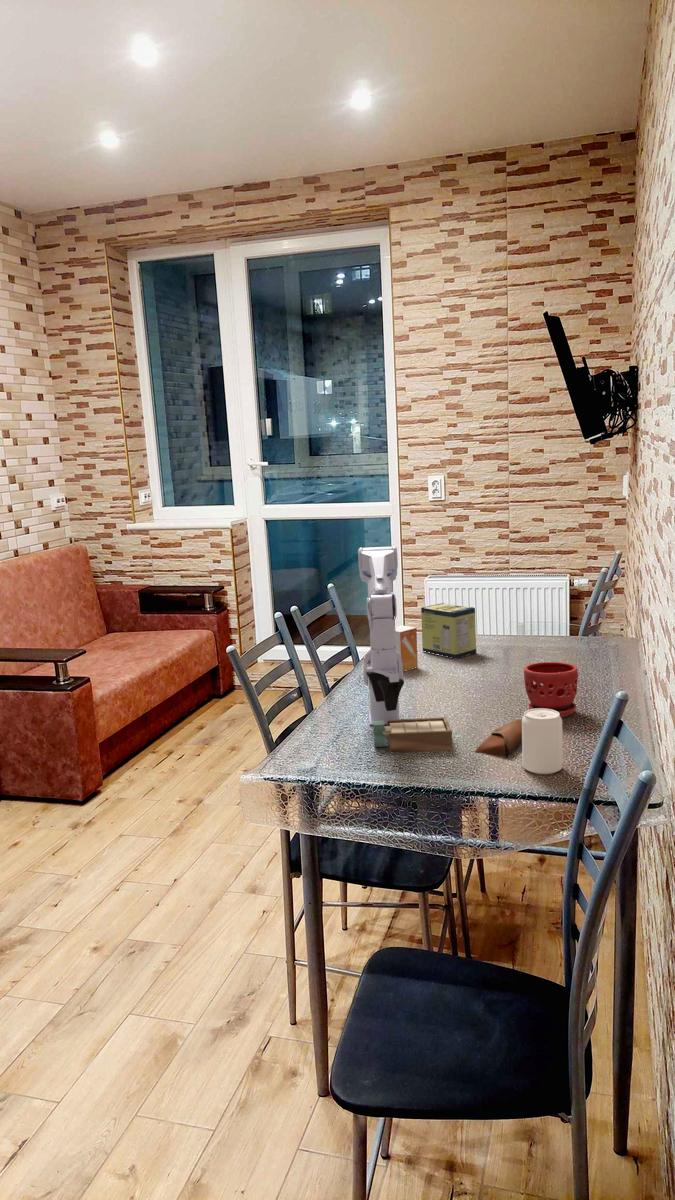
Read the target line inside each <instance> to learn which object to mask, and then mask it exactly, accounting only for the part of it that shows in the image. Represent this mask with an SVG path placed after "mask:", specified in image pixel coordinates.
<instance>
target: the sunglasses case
mask: <svg viewBox="0 0 675 1200" xmlns="http://www.w3.org/2000/svg"><path fill="white" fill-rule="evenodd" d="M520 744H522V718H520V719H516V720H513V721H510V722H509V723H505V724H504V725H502V726H500V727H498V728H496V729H493V731H491V734H490V735H489V736H488V737H487V738H486V739H485V740H484V741H482V743H480V744H479V745H478V747H476V749H475V750H474V752H475V753H476V754H484V755H490V756H495V757H502V758H506V759H507V758H509V756H511V755H512V754H513V752H515V750H516V749H517V748H518V747H519V746H520Z"/></svg>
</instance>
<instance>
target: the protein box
mask: <svg viewBox="0 0 675 1200" xmlns="http://www.w3.org/2000/svg"><path fill="white" fill-rule="evenodd" d="M420 612H421V641H422V644H421V645H422V652H423V651H426V652H430V653H434V654H439V655H443V656H448V657H452V658H451V659H453V658H457V659H459V658H458V657H460V658H463V657H462V656H464V657H467V656H470V655H469V654H471V655H474V654H477V631H476V629H477V628H476V626H477V625H476V608H475V607H472V606H464V605H457V604H450V603H444V602H440V603H437V604H433V605H432V604H431V605H427V606H423V607H421V608H420ZM473 653H474V654H473ZM434 654H433V655H434ZM439 655H438V656H439ZM466 655H467V656H466ZM443 656H442V657H443ZM448 657H447V658H448Z"/></svg>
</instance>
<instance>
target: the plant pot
mask: <svg viewBox="0 0 675 1200" xmlns="http://www.w3.org/2000/svg"><path fill="white" fill-rule="evenodd" d="M578 670H579V669H578V667H577V666H576V665H575V664H572V663H567V662H562V661H561V662H559V661H543V662H542V661H541V662H535V663H531V664H528V665H525V667H524V668H523V679H524V686H525V687H524V689H525V692H526V695H527V698H528V700H529V701H530V703H529V704H528V710H530V709H535V708H546V709H552V710H555V711H557V712H559V713H560V717H561V718H564V717H568V716H570V715H572V714H573V713H574V712H575V711H576V709H577V705H576V703H574V700H575V698H576V696H577V693H578V681H579V680H578V679H579V671H578Z"/></svg>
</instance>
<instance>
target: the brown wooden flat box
mask: <svg viewBox="0 0 675 1200" xmlns="http://www.w3.org/2000/svg"><path fill="white" fill-rule="evenodd" d="M415 721H417V722H425V721H443V724H444V726H445V729H446V730H444V731H423V732H402V733H389V734H387V740H388V741H387V742H388V746H389V752H390V753H391V752H399V753H418V752H432V751H433V752H438V751H453V731H452V728H451V726H450V722H449V721H448V719H447V717H446V716H445V717H442V716H441V717H423V718H422V717H421V718H420V717H419V718H404V719H403V718H401V719H398V720H387V724H386V725H387V726H390V723H403V722H415ZM387 726H386V727H387ZM391 754H392V753H391Z"/></svg>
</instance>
